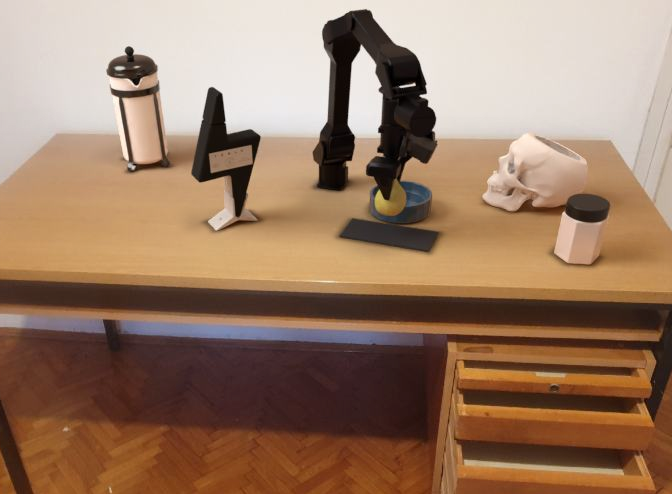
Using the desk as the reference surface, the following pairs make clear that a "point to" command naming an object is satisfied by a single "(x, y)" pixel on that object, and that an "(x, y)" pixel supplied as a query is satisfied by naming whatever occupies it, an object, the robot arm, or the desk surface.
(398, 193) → the fruit
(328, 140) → the robot arm
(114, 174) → the desk surface
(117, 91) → the coffee press
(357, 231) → the place mat
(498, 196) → the skull planter
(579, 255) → the jar
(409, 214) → the bowl
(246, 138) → the award
